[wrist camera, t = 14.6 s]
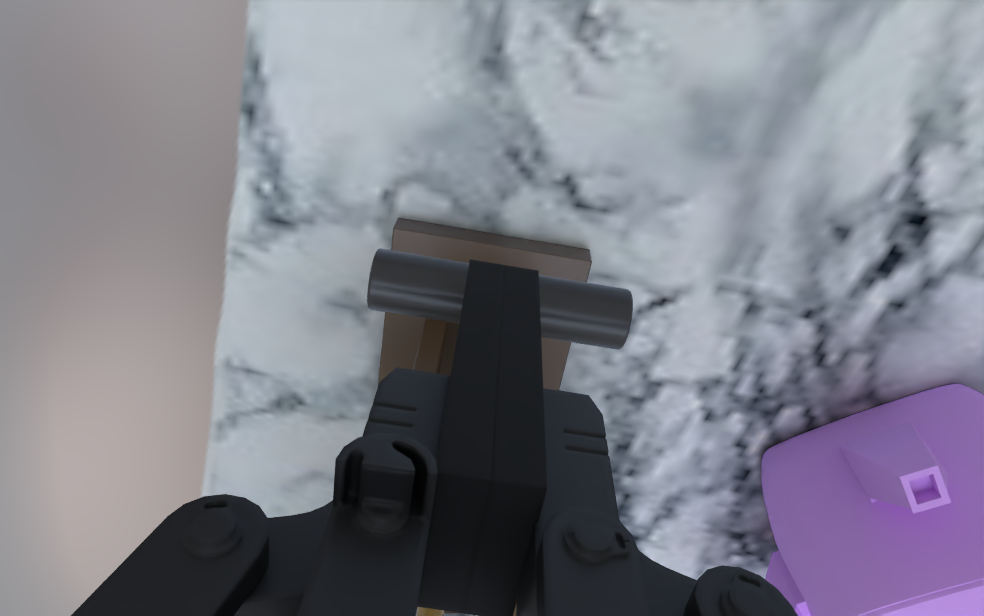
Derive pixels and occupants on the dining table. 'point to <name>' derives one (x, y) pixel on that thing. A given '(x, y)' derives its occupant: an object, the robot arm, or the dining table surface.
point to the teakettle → (882, 510)
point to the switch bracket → (436, 340)
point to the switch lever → (441, 288)
